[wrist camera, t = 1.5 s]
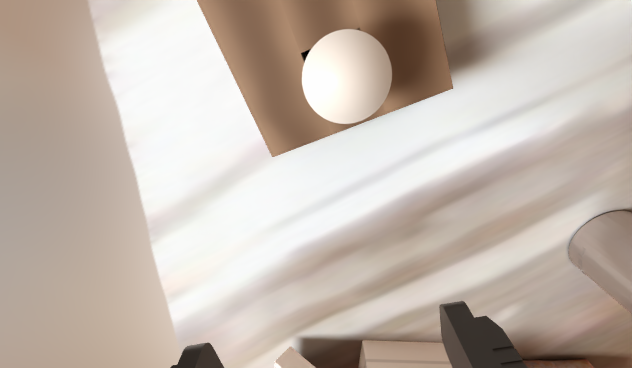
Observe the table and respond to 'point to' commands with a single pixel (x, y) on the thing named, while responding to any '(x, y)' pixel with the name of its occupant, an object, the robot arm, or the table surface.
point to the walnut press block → (301, 35)
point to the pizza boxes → (383, 356)
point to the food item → (558, 364)
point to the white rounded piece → (346, 76)
